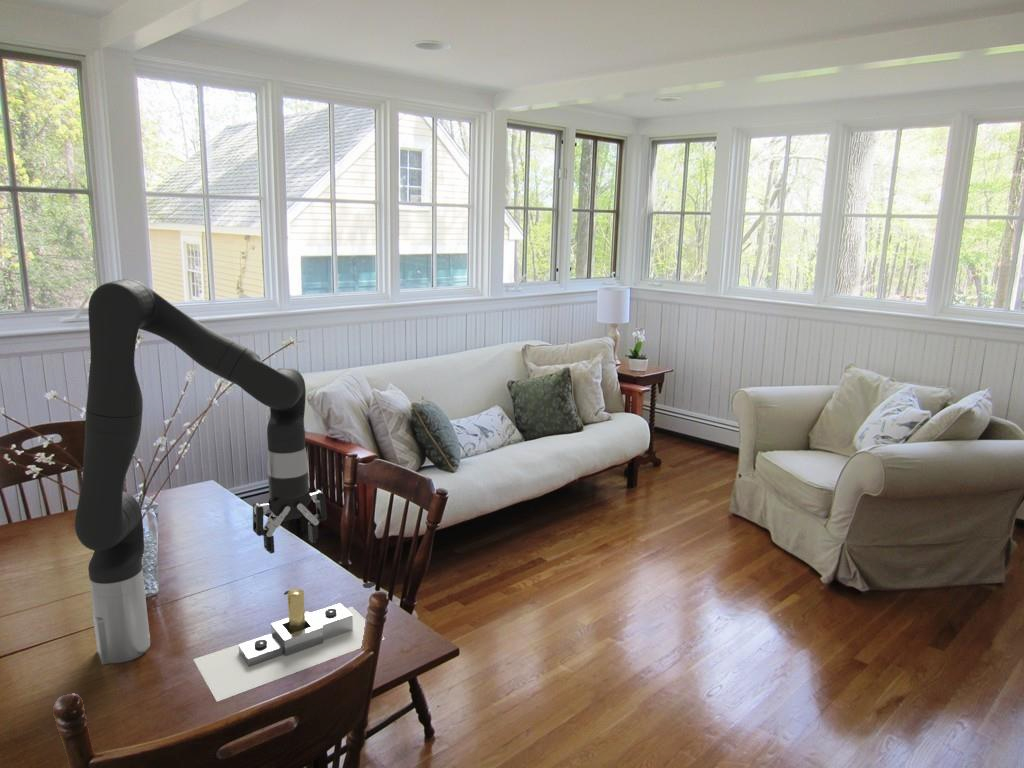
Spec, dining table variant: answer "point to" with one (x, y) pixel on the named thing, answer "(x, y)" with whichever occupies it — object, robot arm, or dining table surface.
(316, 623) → the slotted stepped fixture
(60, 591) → the dining table surface
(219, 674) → the mat
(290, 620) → the brass pin
